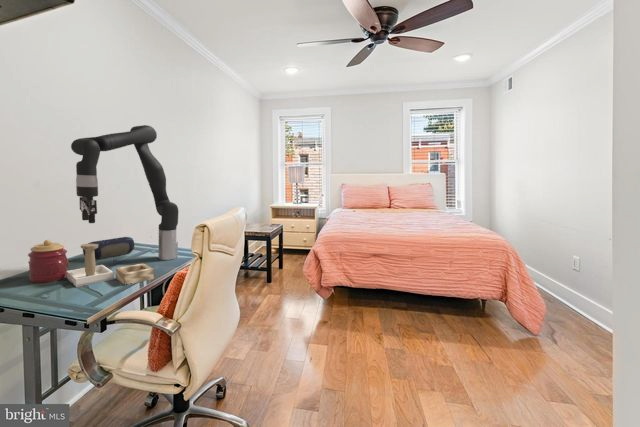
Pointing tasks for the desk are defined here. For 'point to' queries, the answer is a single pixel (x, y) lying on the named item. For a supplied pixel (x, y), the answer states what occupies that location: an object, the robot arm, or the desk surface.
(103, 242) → the portable speaker
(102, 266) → the tray
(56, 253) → the canister
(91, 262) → the handle
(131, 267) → the socket block
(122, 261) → the desk surface
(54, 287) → the desk surface
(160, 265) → the desk surface
